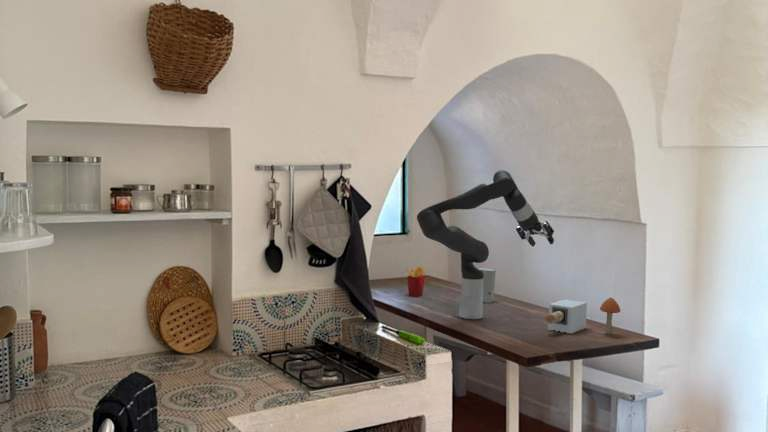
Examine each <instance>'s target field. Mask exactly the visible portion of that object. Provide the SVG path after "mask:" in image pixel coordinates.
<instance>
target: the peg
mask: <svg viewBox="0 0 768 432" xmlns="http://www.w3.org/2000/svg"><path fill="white" fill-rule="evenodd" d="M562 320H565V311H562V310H560V311H557V312H554V313H551V314H549V313H548V314H547V315H546V316H545V322H546V323H547V325H548V324H553V323H556V322H559V321H562Z"/></svg>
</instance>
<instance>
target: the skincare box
mask: <svg viewBox="0 0 768 432" xmlns="http://www.w3.org/2000/svg"><path fill="white" fill-rule="evenodd" d="M477 269H479V270H481V271H482V272H483V274H484V276H483V304H484V303H485V304H486V303H487V304H492V303H493V302H494V300H495V299H494V297H495V283H496V281H495V280H496V272H497V271H496V269H491V268H484V267H479V268H477Z"/></svg>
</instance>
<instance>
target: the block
mask: <svg viewBox="0 0 768 432" xmlns="http://www.w3.org/2000/svg"><path fill="white" fill-rule="evenodd" d="M587 307H588V302H585V301H578V300H572V299H571V300H570V299H561V300H558V301H554V302H552V303H549V304H548V314H551V313H554V312H557V311H560V310H562V311H565V320H562V321H559V322H556V323H553V324H548V323H547V330H548V331H553V330H555V331H554V332H558V331H560V332H559V333H564V332H566V334H570V333H571V334H574V333H576V332H579V331H581V330H584V329H586V328H587V309H588V308H587Z"/></svg>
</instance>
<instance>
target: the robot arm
mask: <svg viewBox="0 0 768 432" xmlns="http://www.w3.org/2000/svg"><path fill="white" fill-rule="evenodd" d="M492 181H493V182H492V183H490V184H486V183H480V184H478V185H477V186H474V187H473V188H471V189H469V190H467V191H466V192H464V193H461V194H459V195H457V196H454V197H451V198H448V199H446V200H443V201H442V200H441V202H437V203H435V204H433V205H429V206H428V207H425V208H423V209H422V210H420V211H419V212H418V213H417V215H416V221H417V222H418V226H419V227H420V229H421V233H422V234H423V235H424V237H426V238H427V239H429V240H431V241H434V242H437V243H440V244H441V245H443V246H445V247H446V248H448V249H449V250H451V251H453V252H456V253H459V254H460V268H461V269H460V271H461V293H460V295H459V301H458V303H459V306H458V317H460V318H462V319H466V320H479V319H482V318H483V304H484V302H483V276H484V274H483V272H482V271H481V270H479V269H478V268H477V267H476V266H475V265H474V263H477V264H482V263H484V262H486V261H487V260H488V258H489V253H490V250H489V247H488V245H487V244H486V243H485V242H484V241H481V240H479V239H477V238H474V236H472V235H471V234H469V233H467V232H466V231H464V230H463V229H461V228H460V227H459V226H456V225H450V226H447V225H446V222H445V221H444V218H443V216H442V214H443V213H445V212H448V211H451V210H473V209H475V208H477V207H480V206H482V205H484V204H485V203H488V202H489V201H491V200H496V199H499V198H502V197H503V199H504V202H505V203H506V205H507V207H508V209H509V210H510V213H512V216H513V218H514V219H515V220H516V222H517V223H518V225H517V226H516V229H515V231H516V232H517V234H518V235H519V238H520V239H521V240H522V241H523V240H525V241H527V242H528V243H529V245H530V246H531V247H535V246H536V241H535V239H534V238H533V237H532V236H534V235H539V236H541V237H545V238H546V239H547V241H548V243H549V245H553V244H554V242H555V239H554V236H553V235H554V233H555V230H554V229H553V228H552V226H551V225H550V223H549V222H548V221H547V220H545V221H543V222H540V220H539V218H538V215H537V214H536V213H535V211H534V209H533V207H532V206H531V205H530V203H529V201H527V199H526V198H525V196H524V194H523V193H522V192H521V190H520V188H518V185H517V184H516V182H515V180H514V178H513V177H512V174H510V172H508V171H507V170H504V169H500V170H497V171H496V172H495V173H494V174H493V178H492Z"/></svg>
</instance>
